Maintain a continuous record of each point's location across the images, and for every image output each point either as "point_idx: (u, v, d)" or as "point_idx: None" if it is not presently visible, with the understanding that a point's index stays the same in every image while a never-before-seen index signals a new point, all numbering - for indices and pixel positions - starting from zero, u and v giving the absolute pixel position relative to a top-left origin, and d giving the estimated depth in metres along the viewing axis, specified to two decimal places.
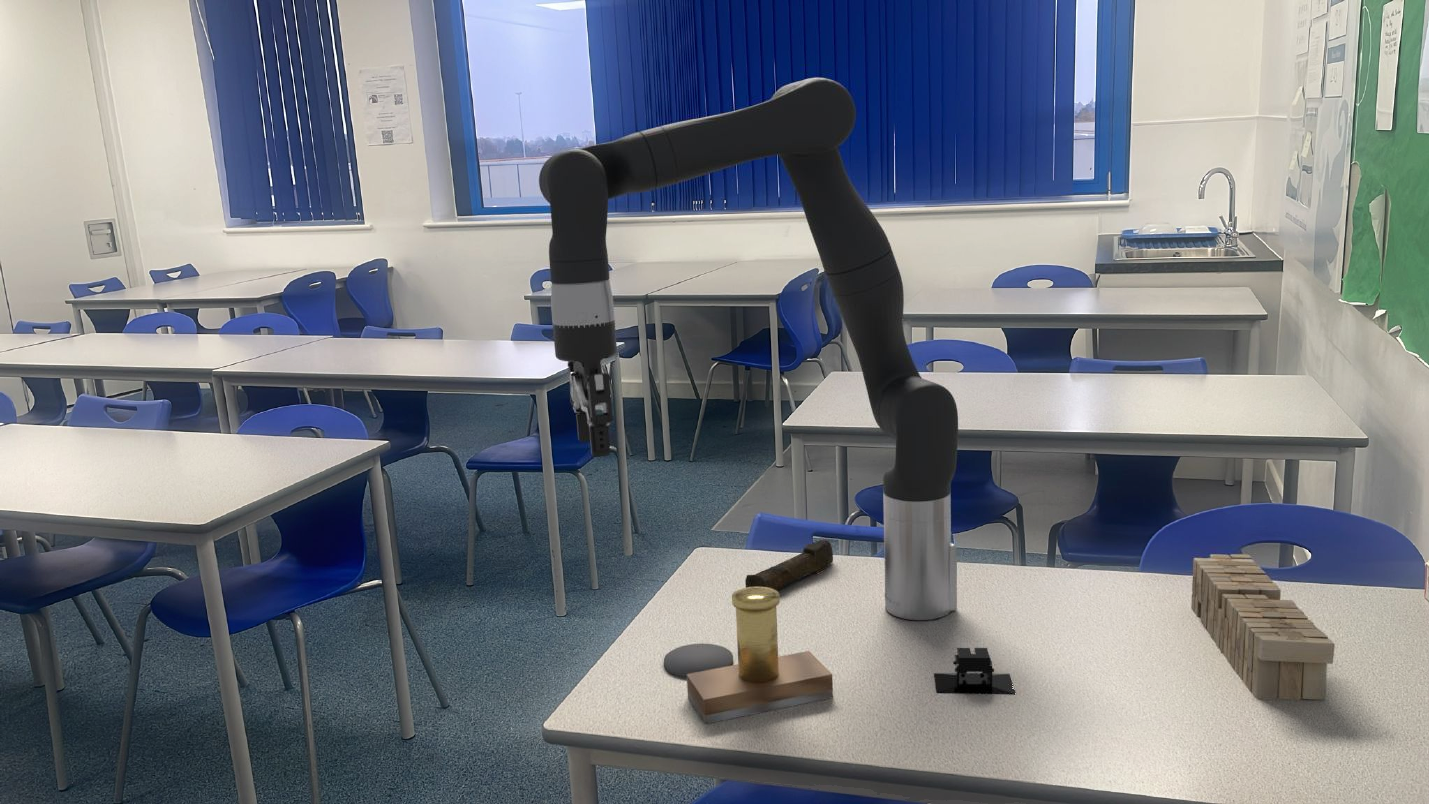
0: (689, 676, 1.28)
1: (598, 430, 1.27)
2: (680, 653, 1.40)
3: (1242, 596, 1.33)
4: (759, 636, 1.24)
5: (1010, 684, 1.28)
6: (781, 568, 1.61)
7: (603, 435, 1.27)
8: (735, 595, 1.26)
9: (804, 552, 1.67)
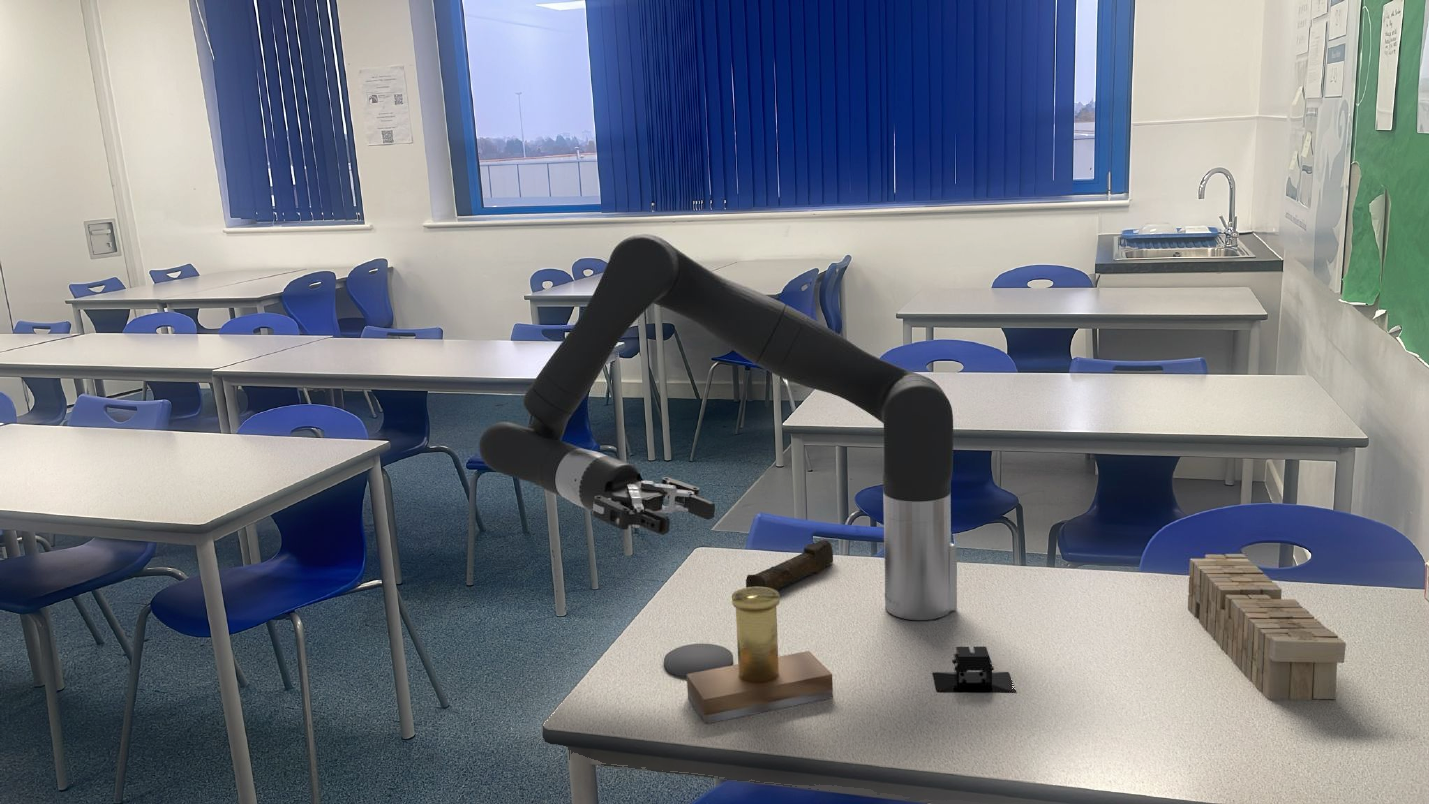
0: (689, 676, 1.28)
1: (640, 522, 1.29)
2: (680, 653, 1.40)
3: (1245, 596, 1.32)
4: (759, 636, 1.24)
5: (1009, 682, 1.29)
6: (782, 568, 1.61)
7: (645, 519, 1.29)
8: (735, 595, 1.26)
9: (804, 552, 1.67)
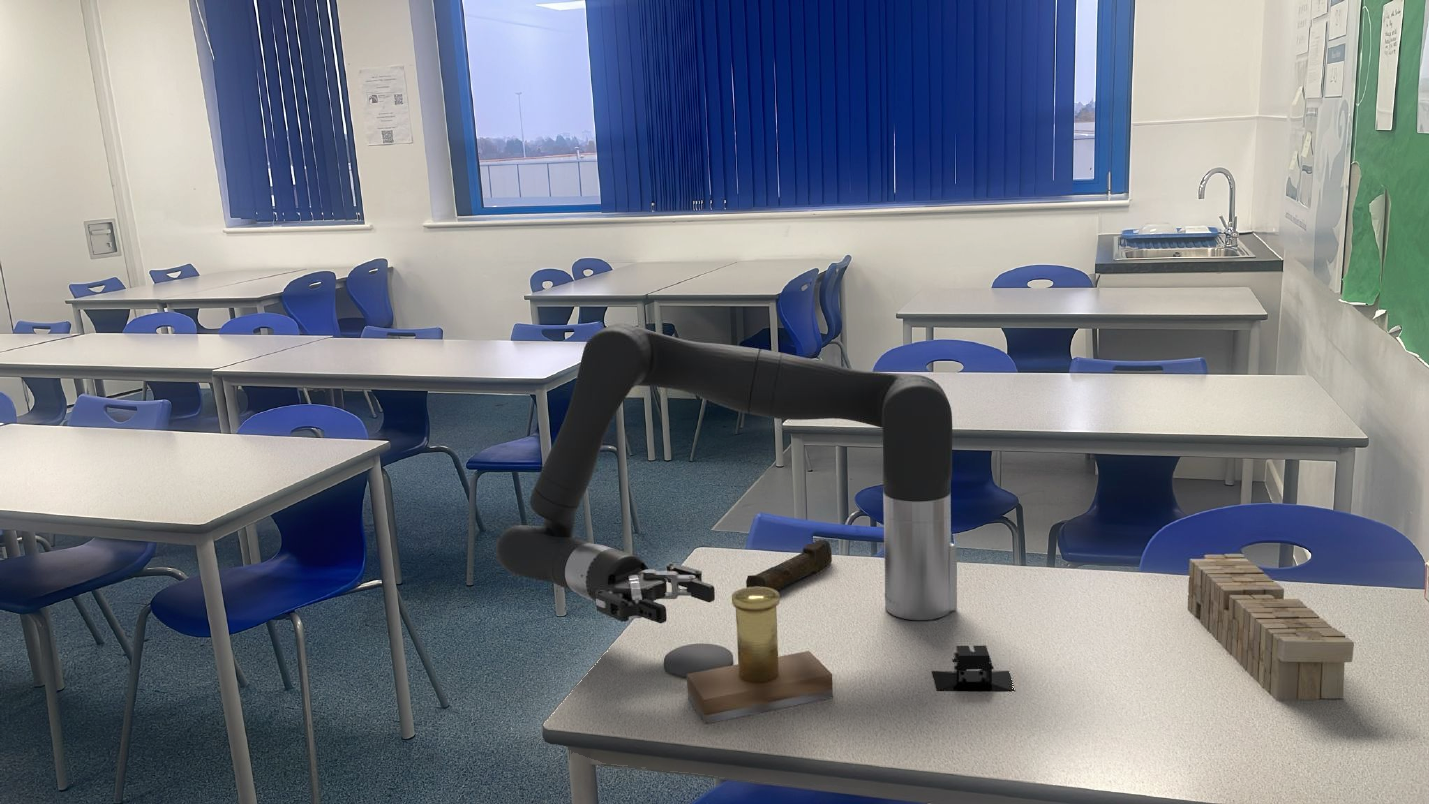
0: (689, 676, 1.28)
1: (639, 612, 1.33)
2: (680, 653, 1.40)
3: (1249, 597, 1.32)
4: (759, 636, 1.24)
5: (1009, 681, 1.29)
6: (782, 568, 1.61)
7: (643, 610, 1.32)
8: (735, 595, 1.26)
9: (804, 552, 1.67)
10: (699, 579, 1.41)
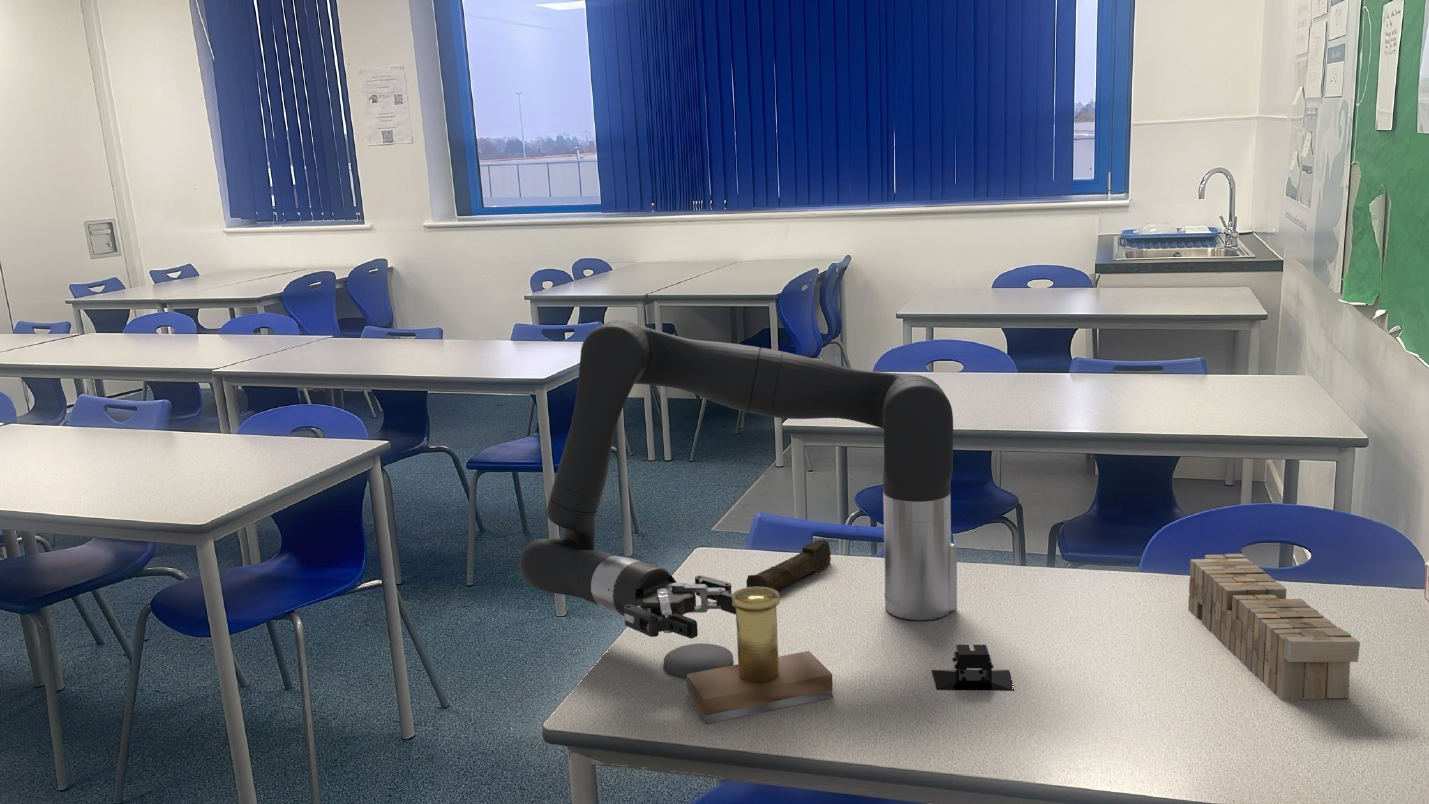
0: (689, 676, 1.28)
1: (669, 627, 1.29)
2: (680, 653, 1.40)
3: (1252, 597, 1.32)
4: (759, 636, 1.24)
5: (1009, 680, 1.29)
6: (782, 568, 1.61)
7: (673, 624, 1.29)
8: (735, 595, 1.26)
9: (803, 552, 1.67)
10: (729, 592, 1.38)
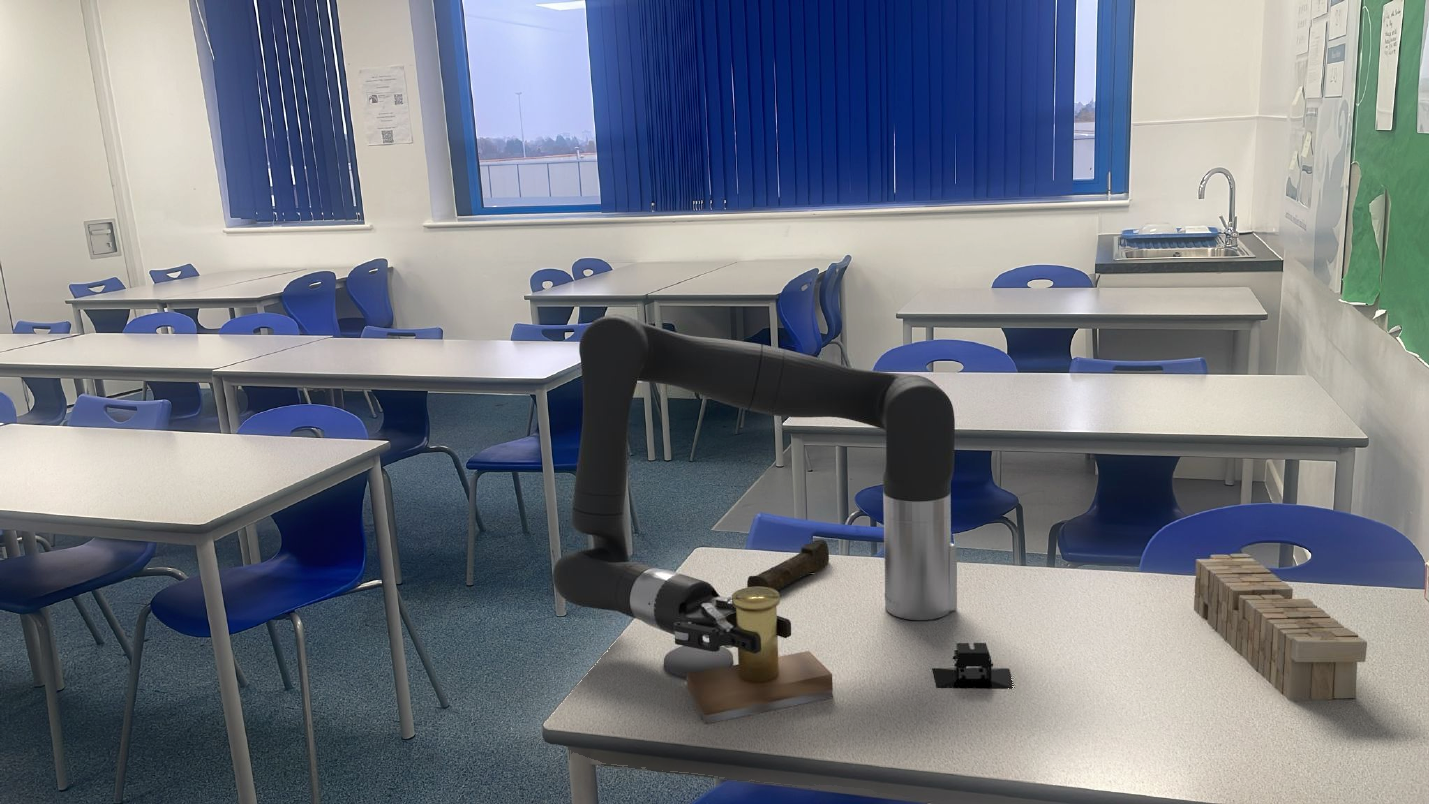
0: (689, 676, 1.28)
1: (731, 642, 1.24)
2: (680, 653, 1.40)
3: (1259, 597, 1.32)
4: None
5: (1009, 678, 1.30)
6: (782, 568, 1.61)
7: (735, 639, 1.24)
8: (735, 595, 1.26)
9: (802, 552, 1.67)
10: None
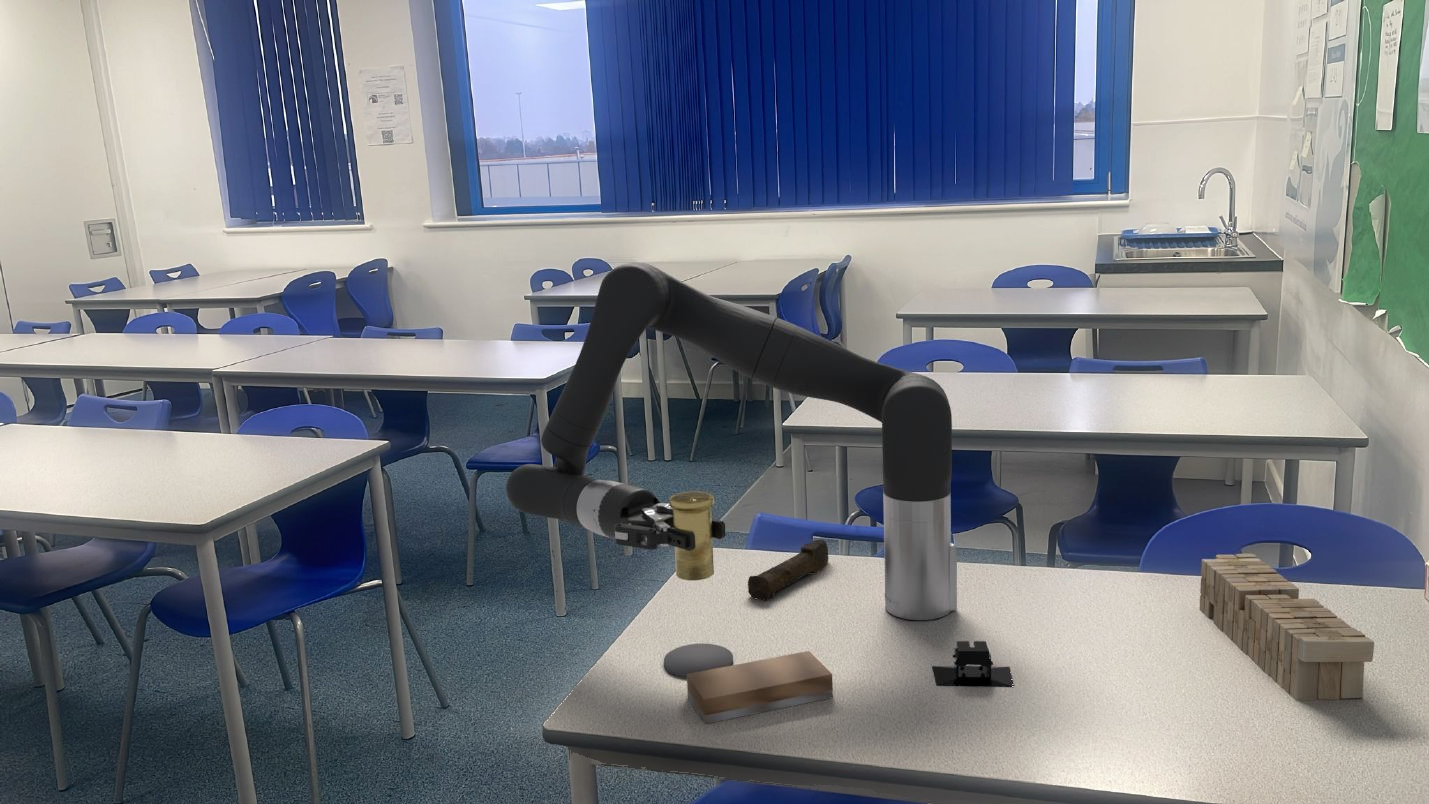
0: (689, 676, 1.28)
1: (668, 540, 1.32)
2: (680, 653, 1.40)
3: (1265, 597, 1.32)
4: None
5: (1008, 676, 1.30)
6: (782, 568, 1.61)
7: (671, 537, 1.31)
8: (672, 497, 1.33)
9: (802, 552, 1.67)
10: None
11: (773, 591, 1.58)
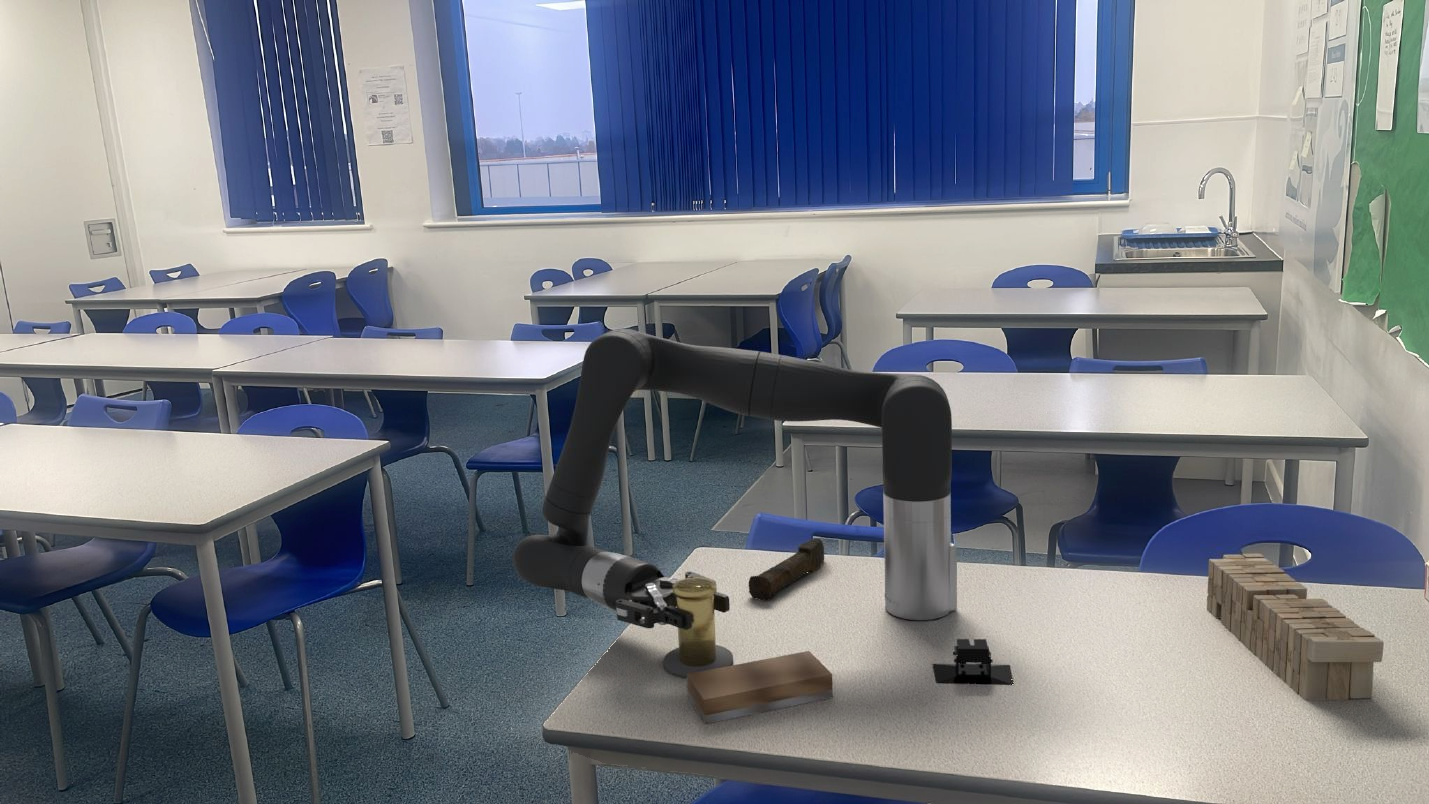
0: (689, 676, 1.28)
1: (665, 619, 1.34)
2: None
3: (1273, 597, 1.32)
4: (697, 623, 1.35)
5: (1008, 674, 1.31)
6: (782, 568, 1.61)
7: (668, 616, 1.34)
8: (676, 585, 1.36)
9: (800, 551, 1.67)
10: None
11: (774, 591, 1.58)
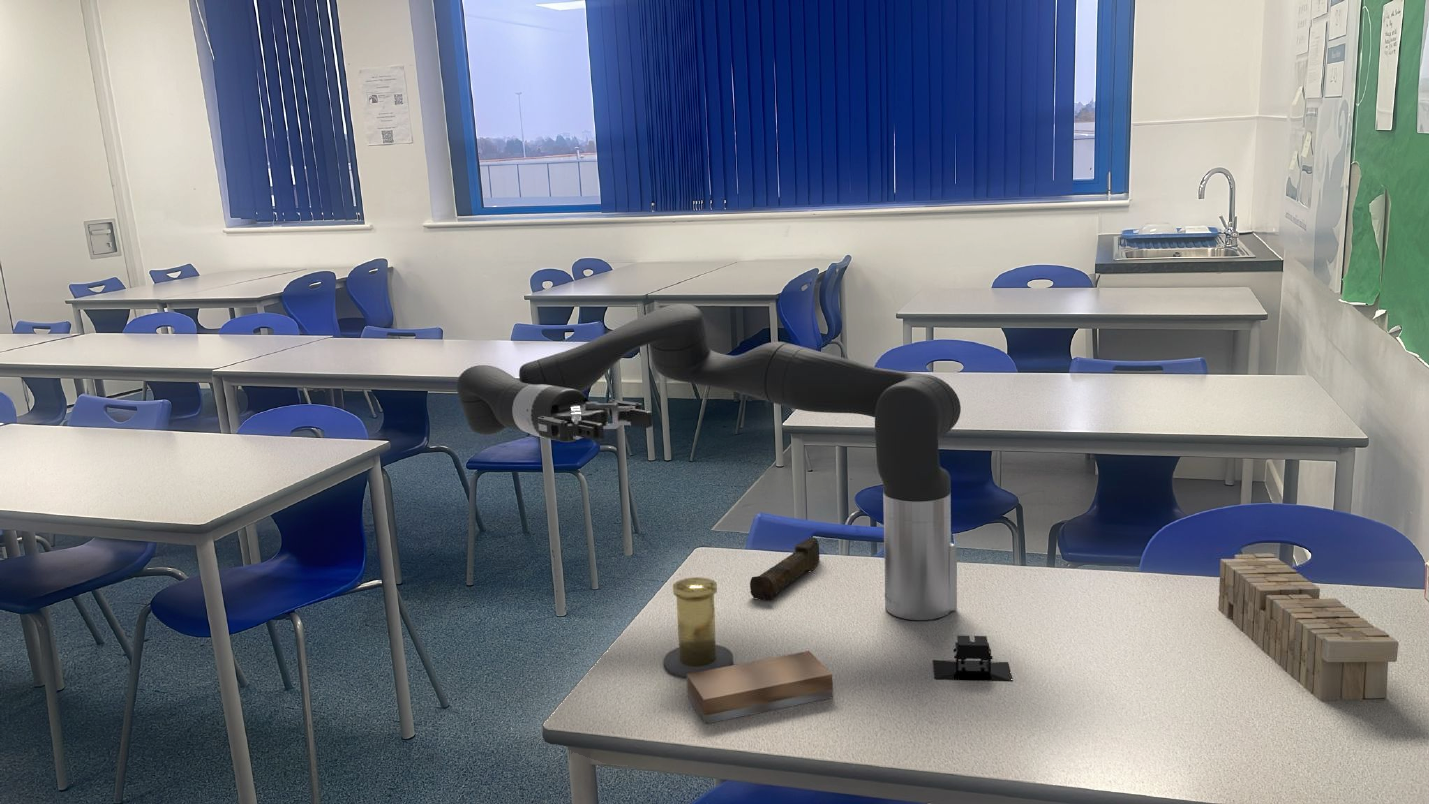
0: (689, 676, 1.28)
1: (578, 432, 1.39)
2: None
3: (1286, 597, 1.32)
4: (697, 623, 1.35)
5: (1008, 671, 1.32)
6: (782, 568, 1.61)
7: (582, 429, 1.38)
8: (676, 585, 1.36)
9: (797, 551, 1.68)
10: None
11: (776, 591, 1.58)
